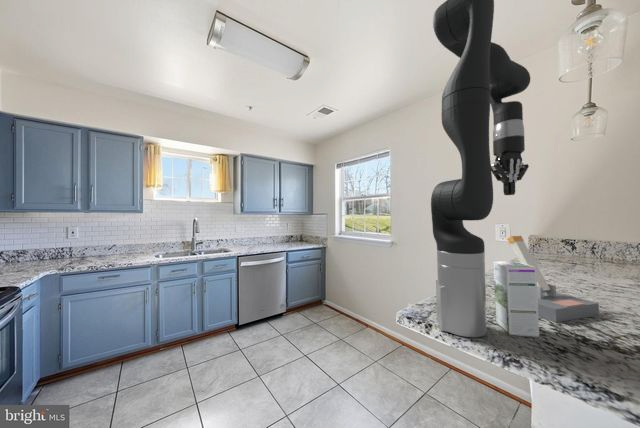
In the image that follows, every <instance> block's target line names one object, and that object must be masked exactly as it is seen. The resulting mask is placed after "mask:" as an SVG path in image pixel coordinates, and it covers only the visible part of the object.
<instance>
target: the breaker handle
mask: <svg viewBox="0 0 640 428" xmlns="http://www.w3.org/2000/svg"><path fill="white" fill-rule="evenodd" d="M506 240H507V241H508V244H509V245H510V246H511V248H512V250H513V252H514V254H515V257H516V258H517V260H518V262H521V263H524V264H528V265H531V266H534V267H536V272H537V286H540V287H543V293H544V292H549V291H550V288H549V286H548V284H549V283H547V281H546V279H545V277H544V275H543V274H542V272H541V270H540V268H539V266H538V264H537V263H536V260H535V259H534V257H533V256H532V254H531V252H530V250H529V249H528V247H527V244H526V243H525V241H524V239H523V237H522V235H513V236H509V237H507V238H506Z"/></svg>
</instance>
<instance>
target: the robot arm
mask: <svg viewBox="0 0 640 428" xmlns="http://www.w3.org/2000/svg"><path fill="white" fill-rule="evenodd" d="M494 15H495V0H445V1H444V2H442V3H441V4H440V5H439V6H438V7H437V8H436V10H435V11H434V14H433V17H432V25H433V26H432V28H433V31H434V35H435V36H436V38H437V40H438V42H439V43H440V45H442V46H443V47H444V48H446V49H447V50H448V51H450V52H451V53H453V55H455V56H456V57H458V58H460V59H459V60H458V62H457V64H456V65H455V67H454V70H453V71H452V73H451V74H450V76H449V78H448V80H447V82H446V85H445V87H444V89H443V92H442V95H441V124H442V128H443V129H444V131H445V133H446V135H447V136H448V138H449V140H451V142H452V143H453V144H454V146H455V147H456V148H457V151H458V153H459V155H460V158H461V178H457V179H452V180H446V181H442V182H439V183H438V184H437V185H435V187H434V189H433V190H432V192H431V198H430V209H431V211H430V212H431V222H432V223H431V224H432V225H431V226H432V235H433V238H434V240H435V243H436V261H437V262H436V263H437V264H436V265H437V266H436V267H437V268H436V269H437V270H436V271H437V280H435V296H436V298H435V300H436V305H435V306H436V309H435V310H436V321H437V323H438V325H439V326H438V327H439V329H440V330H441V331H442V332H446V333H451V334H453V335H456V336H460V337H465V338H481V337H484V336H486V334H487V305H486V304H487V295H486V294H487V293H486V292H487V291H486V257H485V255H486V252H485V241H484V239H483V238H481V237H480V236H478V235H475V234H473V233H471V232H470V231H469V230H467V229H466V227H465V226H464V225H465V224H464V222H463V221H483V220H485V219H486V218H488V216H489V215H490V213H491V212H492V208H493V204H494V185H493V184H494V183H493V177H495V179H496V181H498V182H501V183H502V184H503V189H502V190H503V191H502V192H503V195H505V196H515V194H516V183H517V181H518V182H519V181H522V179H523V177H524V176H525V174H526V172H527V171H528V169H529V164H528V163H526V164H525V163H524V162H523V157H522V153H524V151H525V150H526V149H525V148H526V147H525V125H524V117H523V116H524V114H523V113H524V112H523V109H524V108H523V104H522V102H520V101H517V100H513V101H512V100H511V101H504V102H503V99H505V98H509V97H512V96H515V95H517V94H518V95H519V94H520V93H522V92H524V91H525V90H527V88H528V87H529V86H530V83H531V75H530V72H529V70H528V69H527V68H526V67H525V66H523V65H522V64H520V63H518V62H515V61H514V60H511V57H510V56H509V54H508V53H507V51H506V49H505V48H503V46H501V44H498V43H496V42H492V36H493V34H492V33H493V26H494V25H493V24H494ZM491 110H492V115H493V130H492V152H493V156H494V157H495V160H494V162H493V163H492V162H491V152H490V117H491V116H490V114H491V113H490V111H491ZM491 163H492V164H491Z"/></svg>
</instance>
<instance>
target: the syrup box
mask: <svg viewBox="0 0 640 428" xmlns="http://www.w3.org/2000/svg"><path fill="white" fill-rule="evenodd" d="M493 279H494V280H493V282H494V283H493V285H494V311H495V312H494V313H495V324H496V325H498V326H499V327H500V328H501V329H502V330H504V331H505V332H506V333H507V334H509V335H511V336H519V337H520V336H521V337H534V338H537V337H538V338H539V337H540V324H539V323H540V322H539V320H540V316H538V295H537V272H536V267H534V266H531V265H528V264H524V263H521V262H519V261H513V260H512V261H511V260H504V261H503V260H501V261H500V260H499V261H493Z"/></svg>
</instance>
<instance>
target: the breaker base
mask: <svg viewBox="0 0 640 428" xmlns="http://www.w3.org/2000/svg"><path fill="white" fill-rule="evenodd" d="M547 284H548V286H549V288H550V291H549V292H544V293H543V287H540V286H537V295H538V317H539V318H543V319H545V320H549V321H551V322H553V323H554V322H555V323H561V322H567V321H573V320H580V319H586V318H587V319H588V318H591V317H597V316H598V317H599V316H600V312H599V311H600V308H599V307H600V306H599V302H596V301H595V302H594V301H591V300H589V299H588V300H587V299H583V298H580V297H575V296H572V295H569V294H568V295H567V294H564V293H560V292H557V286H556V285H555V284H551V283H547Z"/></svg>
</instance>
